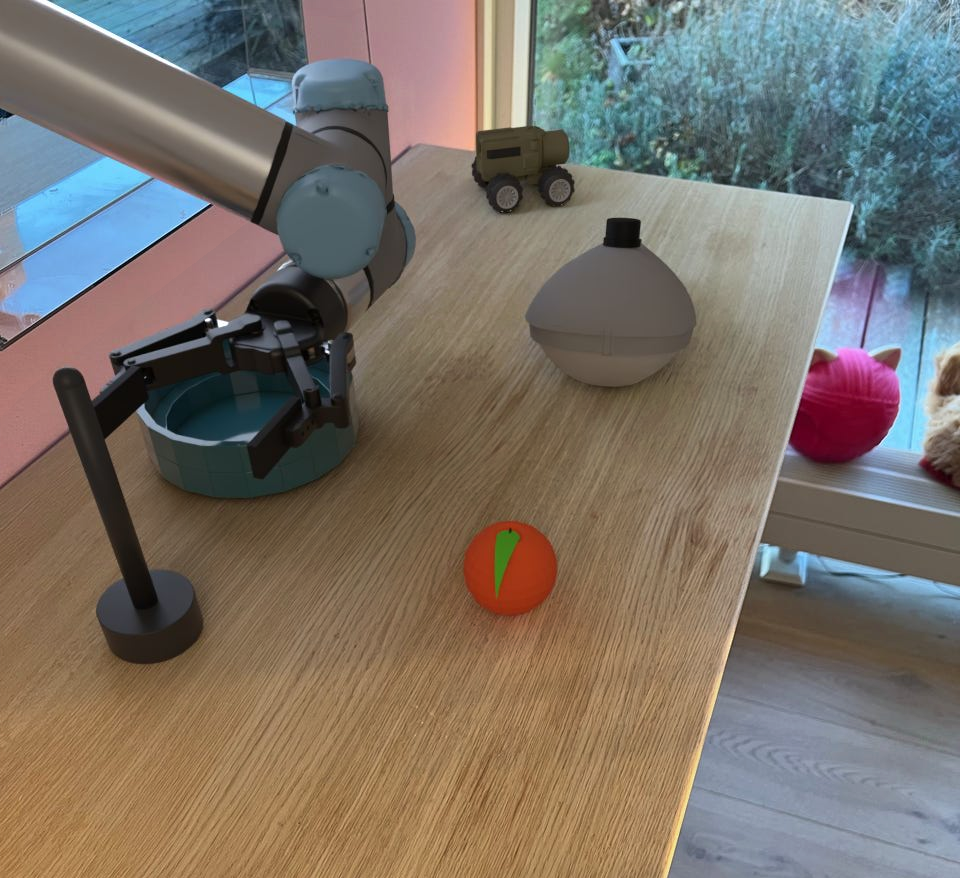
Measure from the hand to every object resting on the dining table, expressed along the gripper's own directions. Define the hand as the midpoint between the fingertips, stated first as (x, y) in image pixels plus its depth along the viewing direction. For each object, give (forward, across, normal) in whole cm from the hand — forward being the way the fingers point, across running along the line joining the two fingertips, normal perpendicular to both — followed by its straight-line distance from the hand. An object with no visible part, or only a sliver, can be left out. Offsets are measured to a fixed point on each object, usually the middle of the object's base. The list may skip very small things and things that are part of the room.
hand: (170, 445), depth 73 cm
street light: (-43, -21, -12) cm, 49 cm away
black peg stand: (+7, 0, -12) cm, 14 cm away
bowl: (-17, +5, -12) cm, 21 cm away
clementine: (-4, -24, -12) cm, 27 cm away
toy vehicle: (-76, 0, -12) cm, 77 cm away
